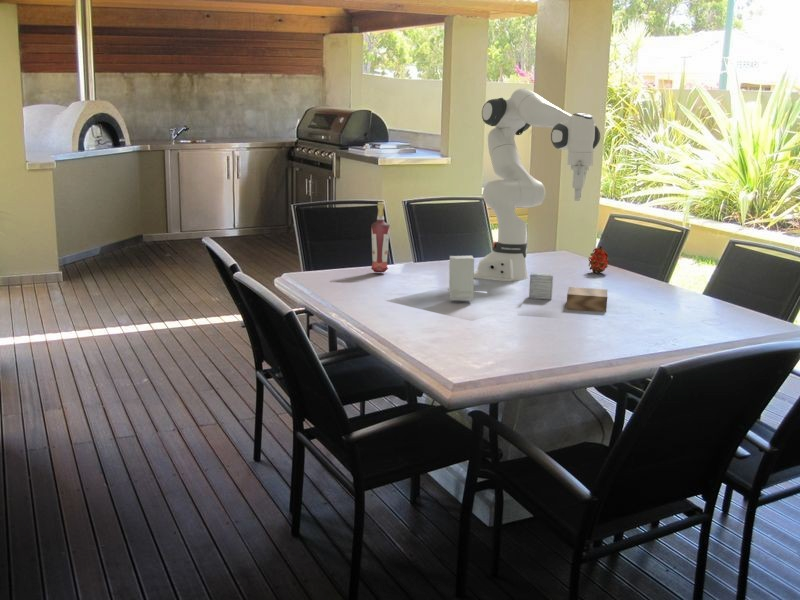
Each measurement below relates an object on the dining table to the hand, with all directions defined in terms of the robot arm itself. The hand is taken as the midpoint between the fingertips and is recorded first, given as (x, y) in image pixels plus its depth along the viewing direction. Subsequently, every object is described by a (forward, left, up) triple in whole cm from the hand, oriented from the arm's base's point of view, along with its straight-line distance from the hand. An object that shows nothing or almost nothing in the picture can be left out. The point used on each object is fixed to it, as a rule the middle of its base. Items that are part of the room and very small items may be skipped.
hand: (577, 199), depth 301 cm
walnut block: (+6, -21, -34) cm, 40 cm away
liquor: (-77, +18, -34) cm, 86 cm away
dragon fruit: (+9, +44, -34) cm, 57 cm away
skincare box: (-37, -23, -34) cm, 55 cm away
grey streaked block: (-10, -13, -34) cm, 38 cm away
